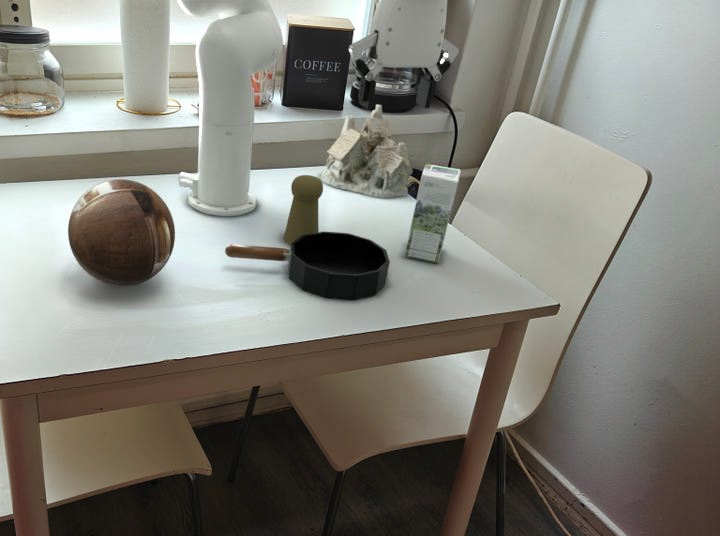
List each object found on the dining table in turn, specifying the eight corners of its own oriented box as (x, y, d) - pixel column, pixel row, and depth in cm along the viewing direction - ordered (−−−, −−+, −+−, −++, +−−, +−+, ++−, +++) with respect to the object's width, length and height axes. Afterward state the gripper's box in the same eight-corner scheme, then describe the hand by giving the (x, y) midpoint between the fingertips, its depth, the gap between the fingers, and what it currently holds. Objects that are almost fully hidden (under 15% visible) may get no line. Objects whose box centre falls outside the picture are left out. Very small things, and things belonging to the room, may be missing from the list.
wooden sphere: (54, 271, 106) (45, 174, 98) (141, 250, 114) (139, 158, 106) (102, 315, 97) (97, 212, 89) (193, 288, 105) (197, 191, 96)
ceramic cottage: (313, 170, 150) (327, 98, 141) (384, 171, 154) (402, 102, 145) (338, 203, 139) (354, 127, 130) (414, 203, 143) (435, 130, 134)
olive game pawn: (316, 249, 119) (325, 186, 112) (280, 244, 119) (287, 181, 113) (320, 235, 124) (328, 173, 117) (286, 230, 124) (292, 169, 118)
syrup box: (441, 250, 122) (462, 167, 113) (438, 264, 117) (459, 179, 109) (408, 244, 123) (425, 161, 115) (403, 258, 118) (421, 173, 110)
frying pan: (221, 290, 105) (222, 265, 103) (226, 247, 117) (227, 224, 115) (390, 303, 105) (395, 278, 103) (377, 258, 117) (381, 235, 115)
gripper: (458, -22, 104) (432, 99, 113) (350, -28, 99) (332, 99, 109) (487, -14, 98) (456, 113, 107) (373, -20, 93) (352, 114, 103)
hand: (394, 106), depth 108 cm, fingers open, 9 cm apart
